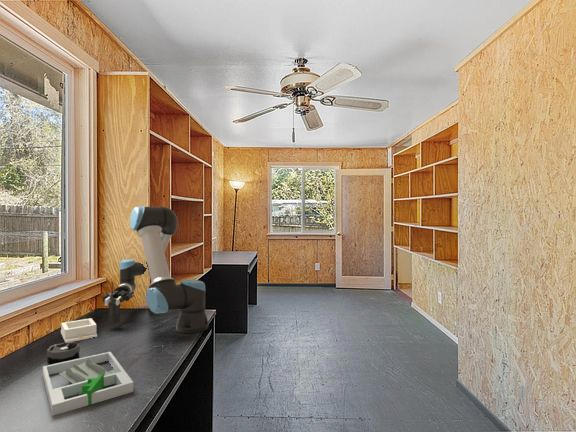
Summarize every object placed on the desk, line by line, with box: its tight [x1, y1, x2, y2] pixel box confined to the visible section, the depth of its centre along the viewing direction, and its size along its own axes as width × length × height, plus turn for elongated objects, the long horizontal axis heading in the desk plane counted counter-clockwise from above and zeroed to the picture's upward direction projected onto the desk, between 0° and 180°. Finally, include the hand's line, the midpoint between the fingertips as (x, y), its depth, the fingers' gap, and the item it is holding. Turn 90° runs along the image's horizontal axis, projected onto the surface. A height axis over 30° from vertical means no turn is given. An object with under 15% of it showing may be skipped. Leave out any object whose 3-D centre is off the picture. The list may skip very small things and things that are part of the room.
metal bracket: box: [58, 359, 117, 396], centre depth 115 cm, size 14×6×15 cm
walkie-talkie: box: [107, 281, 121, 325], centre depth 165 cm, size 5×3×20 cm
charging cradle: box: [60, 317, 98, 343], centre depth 157 cm, size 16×12×5 cm
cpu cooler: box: [46, 341, 81, 365], centre depth 129 cm, size 10×6×10 cm
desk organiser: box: [42, 351, 134, 417], centre depth 113 cm, size 30×21×3 cm
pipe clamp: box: [81, 374, 105, 406], centre depth 105 cm, size 10×4×4 cm, turn 9°
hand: (111, 302), depth 160 cm, fingers closed on walkie-talkie, 4 cm apart
